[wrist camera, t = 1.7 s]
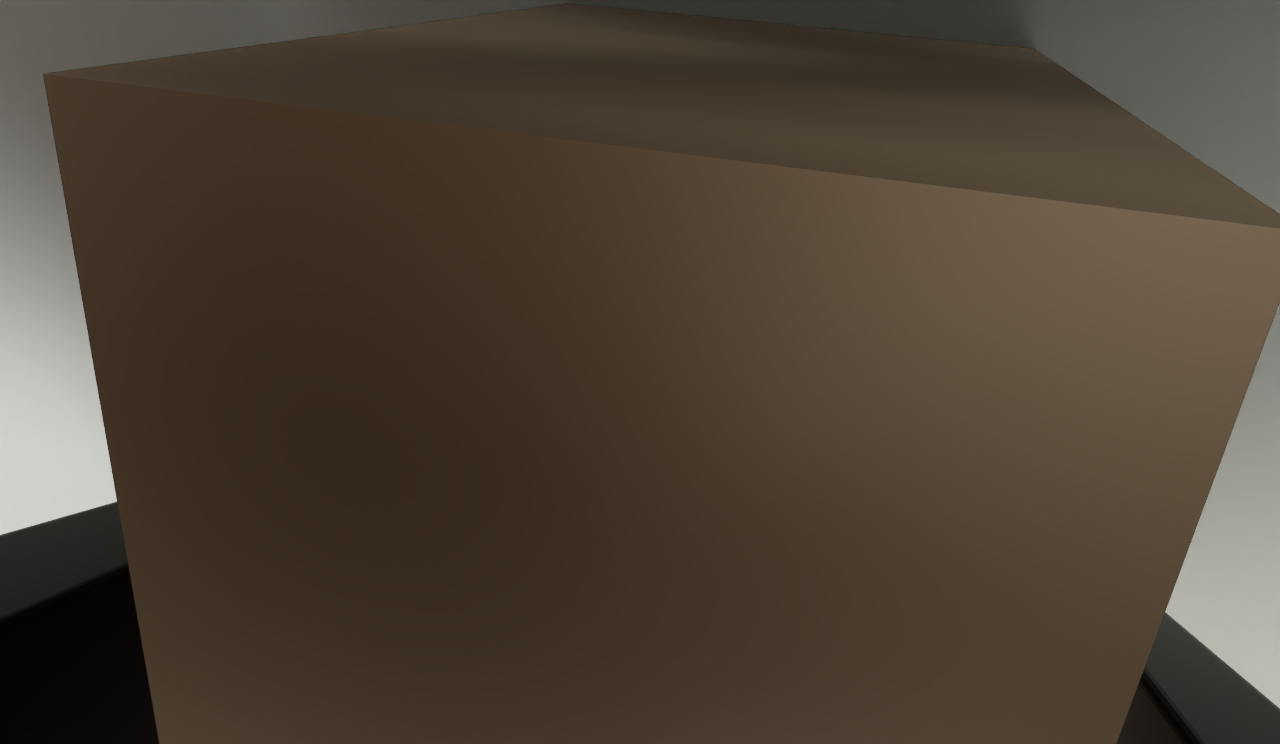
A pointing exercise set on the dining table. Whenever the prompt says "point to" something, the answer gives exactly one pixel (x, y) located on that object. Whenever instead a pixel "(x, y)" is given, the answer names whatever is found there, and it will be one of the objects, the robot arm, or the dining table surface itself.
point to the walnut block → (650, 381)
